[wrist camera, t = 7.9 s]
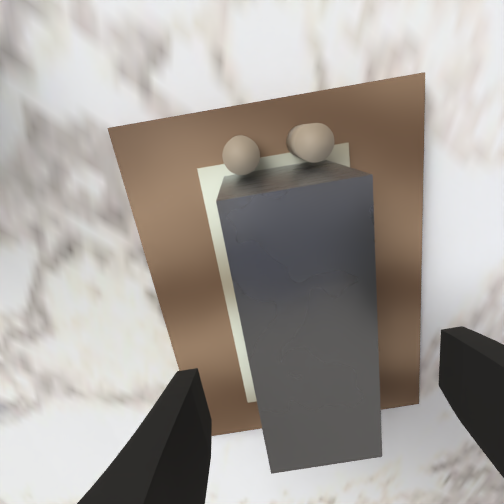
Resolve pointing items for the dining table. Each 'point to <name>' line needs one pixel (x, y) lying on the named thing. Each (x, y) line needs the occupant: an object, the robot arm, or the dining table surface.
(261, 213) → the block
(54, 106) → the dining table surface
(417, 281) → the pin tray
